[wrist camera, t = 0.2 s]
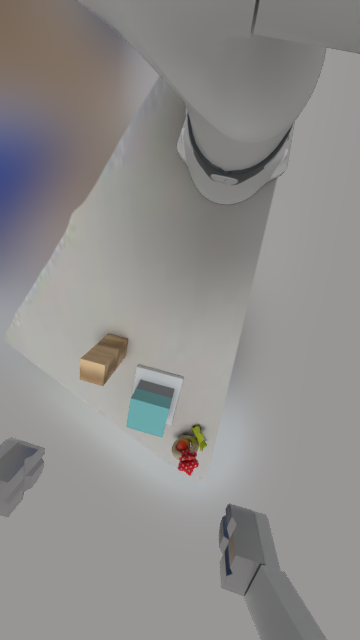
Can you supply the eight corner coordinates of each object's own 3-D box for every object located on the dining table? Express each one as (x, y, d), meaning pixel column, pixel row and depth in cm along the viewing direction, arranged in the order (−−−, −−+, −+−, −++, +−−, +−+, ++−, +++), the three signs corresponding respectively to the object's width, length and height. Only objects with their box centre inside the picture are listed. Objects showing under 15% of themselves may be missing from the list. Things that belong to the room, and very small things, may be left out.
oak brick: (108, 333, 52) (80, 358, 41) (128, 338, 52) (105, 365, 41) (107, 350, 54) (79, 379, 43) (125, 355, 54) (103, 386, 43)
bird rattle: (188, 437, 63) (215, 443, 58) (168, 474, 55) (197, 485, 49) (180, 421, 62) (206, 425, 56) (158, 457, 53) (186, 466, 48)
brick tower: (138, 364, 54) (126, 384, 47) (183, 376, 53) (179, 398, 46) (130, 411, 60) (118, 435, 53) (171, 423, 59) (165, 449, 52)
